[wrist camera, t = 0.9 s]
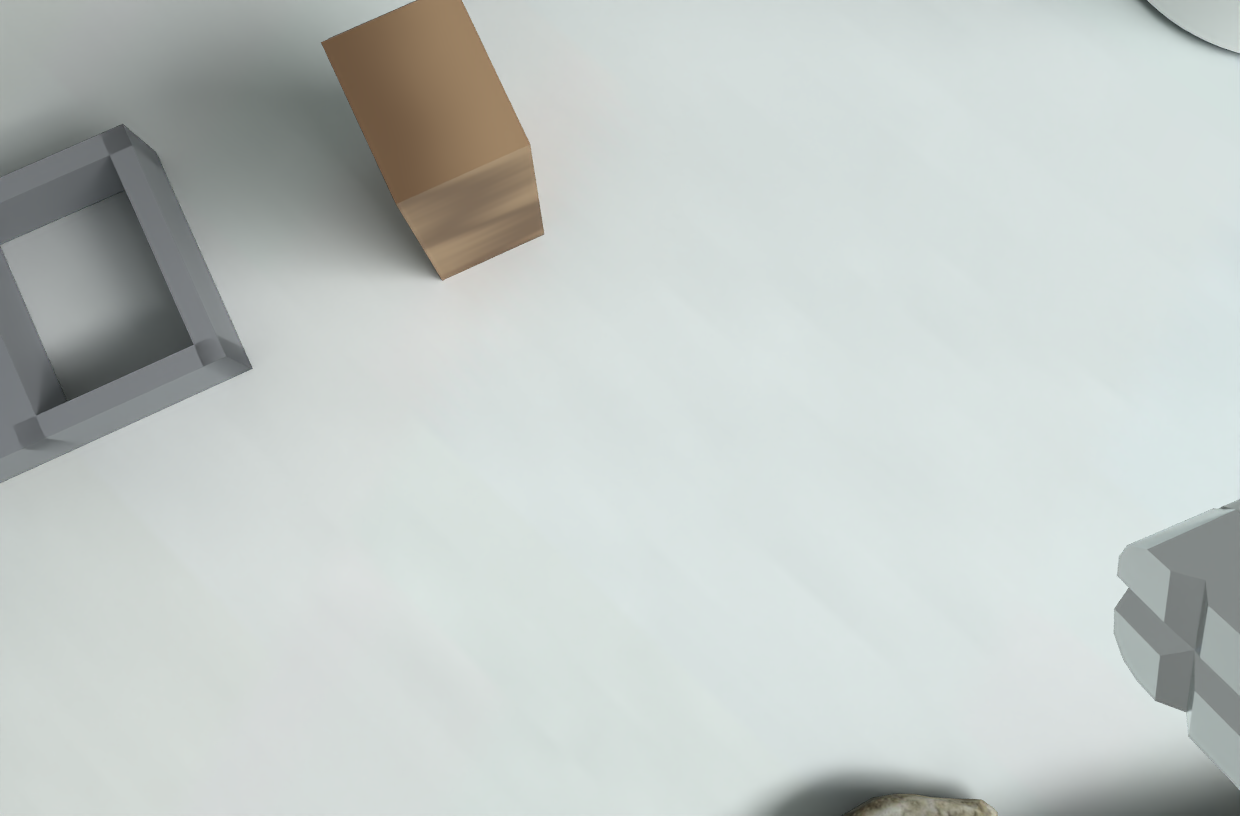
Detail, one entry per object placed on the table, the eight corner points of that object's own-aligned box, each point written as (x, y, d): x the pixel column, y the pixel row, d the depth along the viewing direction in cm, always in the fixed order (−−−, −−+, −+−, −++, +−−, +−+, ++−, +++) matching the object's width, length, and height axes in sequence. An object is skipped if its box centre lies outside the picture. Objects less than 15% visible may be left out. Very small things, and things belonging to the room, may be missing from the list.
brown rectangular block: (480, 99, 42) (446, -32, 32) (544, 234, 42) (530, 144, 32) (379, 144, 42) (313, 26, 32) (442, 280, 42) (395, 204, 32)
